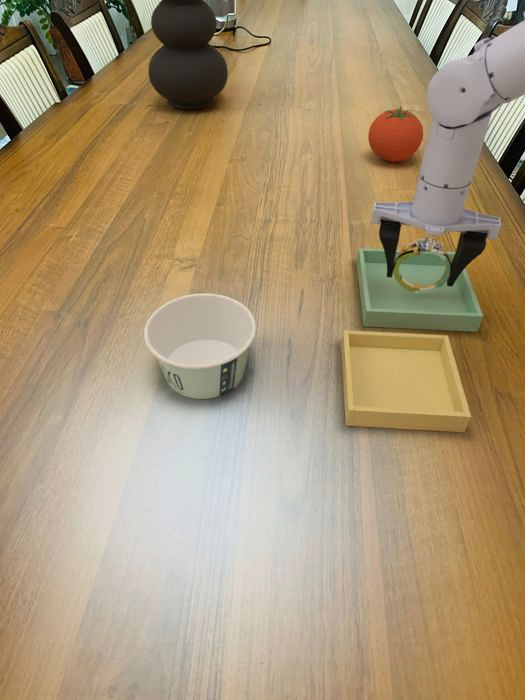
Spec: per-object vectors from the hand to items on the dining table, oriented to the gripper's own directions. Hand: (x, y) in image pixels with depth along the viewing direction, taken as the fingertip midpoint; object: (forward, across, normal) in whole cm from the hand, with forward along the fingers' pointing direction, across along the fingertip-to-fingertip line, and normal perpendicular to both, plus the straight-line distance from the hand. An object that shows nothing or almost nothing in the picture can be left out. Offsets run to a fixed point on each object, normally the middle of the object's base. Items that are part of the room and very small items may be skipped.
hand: (419, 277), depth 66 cm
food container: (+4, -23, -20) cm, 30 cm away
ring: (+3, 0, 0) cm, 3 cm away
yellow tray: (+4, -1, -16) cm, 17 cm away
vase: (+4, -56, +65) cm, 86 cm away
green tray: (+4, 0, +1) cm, 4 cm away
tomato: (+4, -6, +45) cm, 45 cm away
